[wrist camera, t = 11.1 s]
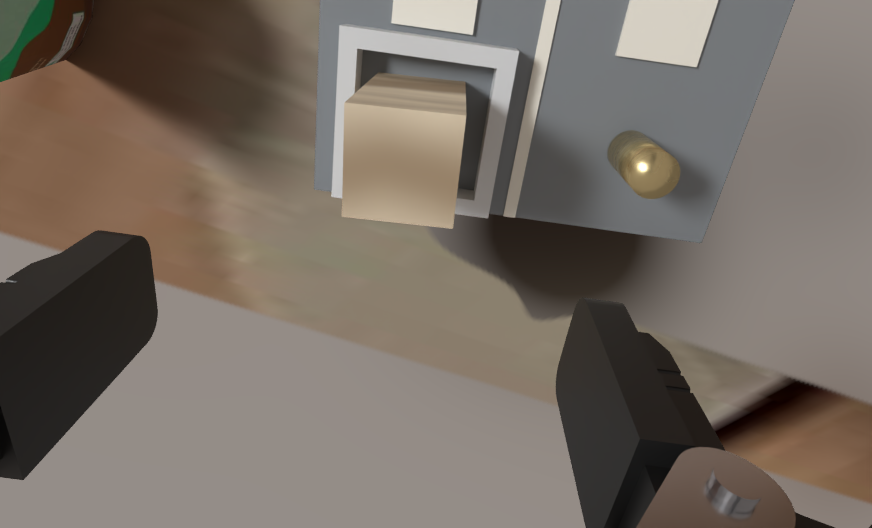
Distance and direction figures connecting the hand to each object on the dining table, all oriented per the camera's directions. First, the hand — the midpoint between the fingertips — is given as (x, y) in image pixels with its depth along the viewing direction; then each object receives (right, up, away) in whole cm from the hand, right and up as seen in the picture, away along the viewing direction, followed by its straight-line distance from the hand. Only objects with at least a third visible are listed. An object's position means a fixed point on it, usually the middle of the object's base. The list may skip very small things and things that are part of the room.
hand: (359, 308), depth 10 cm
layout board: (+6, +9, +15) cm, 19 cm away
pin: (+11, +6, +16) cm, 20 cm away
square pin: (+1, +8, +16) cm, 17 cm away
